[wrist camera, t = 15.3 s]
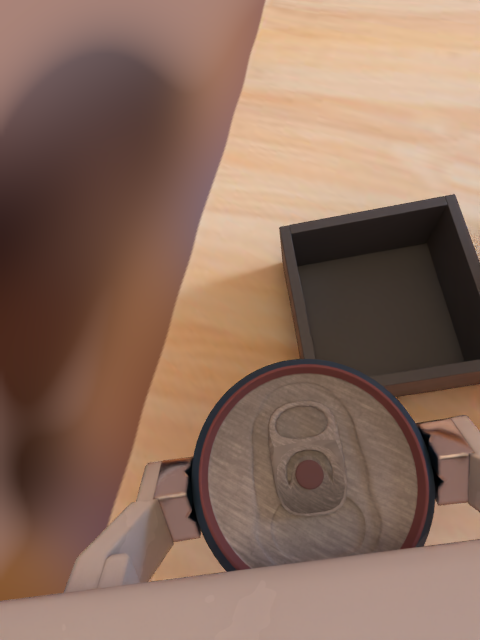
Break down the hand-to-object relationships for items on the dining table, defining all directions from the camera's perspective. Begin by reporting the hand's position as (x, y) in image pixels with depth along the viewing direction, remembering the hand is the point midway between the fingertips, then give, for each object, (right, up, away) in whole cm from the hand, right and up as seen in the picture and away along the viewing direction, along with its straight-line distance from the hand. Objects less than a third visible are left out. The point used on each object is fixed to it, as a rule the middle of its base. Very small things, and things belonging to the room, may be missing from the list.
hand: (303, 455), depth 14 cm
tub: (+10, +4, +24) cm, 26 cm away
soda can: (+1, -4, +9) cm, 9 cm away
